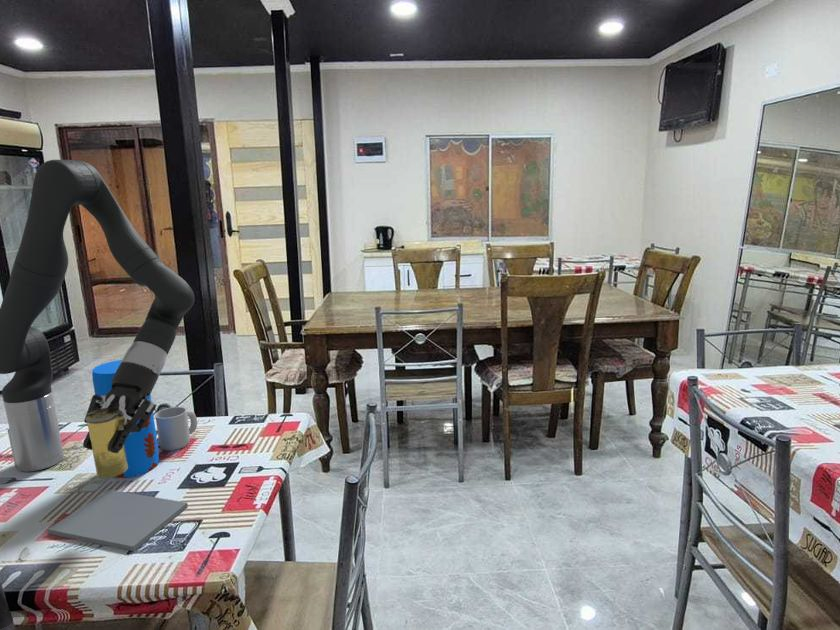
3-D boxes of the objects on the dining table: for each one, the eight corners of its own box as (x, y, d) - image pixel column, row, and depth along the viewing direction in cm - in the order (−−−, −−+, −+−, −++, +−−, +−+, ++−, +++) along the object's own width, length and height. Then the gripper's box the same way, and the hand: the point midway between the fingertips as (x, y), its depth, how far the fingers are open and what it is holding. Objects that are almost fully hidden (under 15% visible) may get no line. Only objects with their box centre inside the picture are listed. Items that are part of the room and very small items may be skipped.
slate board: (48, 533, 99) (47, 529, 98) (109, 493, 112) (109, 489, 111) (134, 551, 93) (133, 546, 93) (187, 507, 106) (187, 502, 106)
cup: (154, 446, 133) (149, 413, 131) (191, 432, 141) (187, 401, 139) (168, 454, 129) (164, 420, 127) (206, 439, 136) (202, 407, 134)
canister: (89, 476, 98) (78, 417, 96) (113, 462, 103) (103, 406, 101) (112, 480, 97) (101, 420, 94) (135, 465, 102) (125, 408, 99)
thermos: (138, 480, 117) (121, 375, 111) (97, 476, 119) (79, 373, 113) (170, 457, 127) (156, 359, 122) (132, 453, 129) (116, 357, 124)
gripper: (99, 358, 104) (54, 439, 96) (157, 362, 101) (116, 448, 92) (124, 374, 111) (84, 452, 102) (180, 379, 107) (144, 460, 98)
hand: (100, 449), depth 97 cm, fingers closed on canister, 5 cm apart
